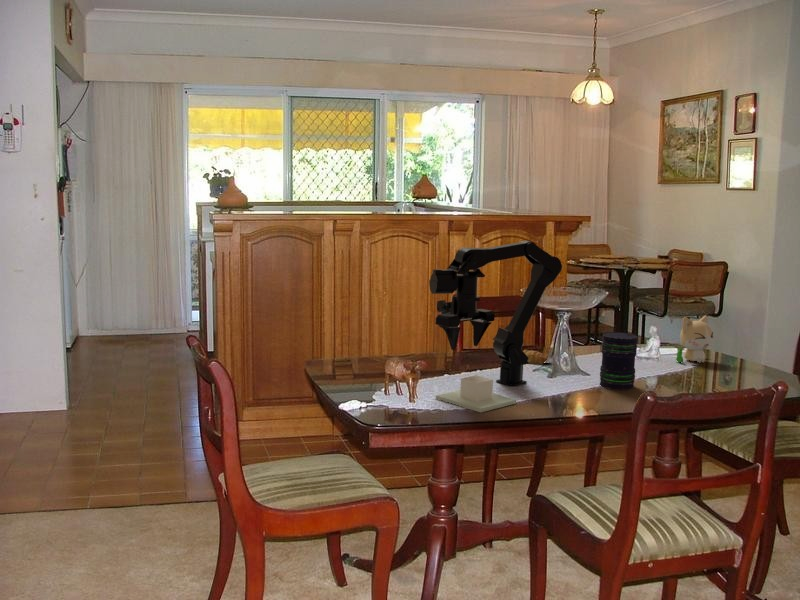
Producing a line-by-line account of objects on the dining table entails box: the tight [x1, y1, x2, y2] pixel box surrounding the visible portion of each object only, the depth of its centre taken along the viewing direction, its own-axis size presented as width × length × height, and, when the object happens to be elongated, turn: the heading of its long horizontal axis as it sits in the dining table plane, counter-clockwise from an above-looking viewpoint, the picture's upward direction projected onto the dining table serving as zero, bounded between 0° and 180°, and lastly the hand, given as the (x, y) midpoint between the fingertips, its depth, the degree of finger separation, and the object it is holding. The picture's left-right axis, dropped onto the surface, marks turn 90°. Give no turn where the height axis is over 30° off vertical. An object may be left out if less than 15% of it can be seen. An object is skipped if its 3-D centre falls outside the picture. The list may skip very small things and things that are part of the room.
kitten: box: [675, 314, 714, 364], centre depth 278 cm, size 15×10×15 cm
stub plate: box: [435, 389, 517, 413], centre depth 223 cm, size 14×16×4 cm
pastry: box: [522, 349, 549, 365], centre depth 271 cm, size 9×7×4 cm
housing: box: [459, 375, 494, 402], centre depth 222 cm, size 6×6×5 cm
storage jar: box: [599, 331, 638, 391], centre depth 242 cm, size 10×10×15 cm
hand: (464, 347), depth 237 cm, fingers open, 9 cm apart
